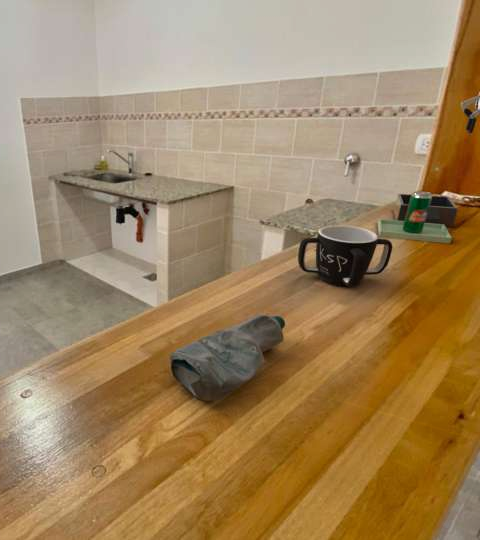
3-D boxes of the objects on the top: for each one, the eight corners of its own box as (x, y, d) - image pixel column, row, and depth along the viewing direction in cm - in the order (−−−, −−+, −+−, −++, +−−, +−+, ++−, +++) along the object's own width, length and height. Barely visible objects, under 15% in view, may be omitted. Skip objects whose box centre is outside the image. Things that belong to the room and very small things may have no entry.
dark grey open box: (443, 214, 133) (449, 196, 130) (451, 228, 121) (458, 208, 118) (393, 211, 140) (397, 193, 137) (396, 223, 128) (401, 204, 125)
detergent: (210, 420, 55) (314, 354, 67) (208, 379, 53) (316, 318, 64) (155, 377, 66) (253, 326, 77) (152, 342, 63) (253, 295, 75)
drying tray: (442, 229, 120) (444, 224, 119) (450, 243, 109) (451, 237, 109) (377, 224, 128) (379, 219, 127) (379, 236, 117) (380, 231, 117)
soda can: (406, 233, 117) (416, 195, 112) (399, 228, 121) (409, 191, 116) (425, 234, 115) (436, 195, 110) (417, 228, 120) (428, 191, 115)
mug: (287, 275, 97) (293, 230, 92) (329, 261, 103) (337, 218, 98) (348, 302, 83) (359, 251, 78) (392, 283, 90) (405, 235, 85)
